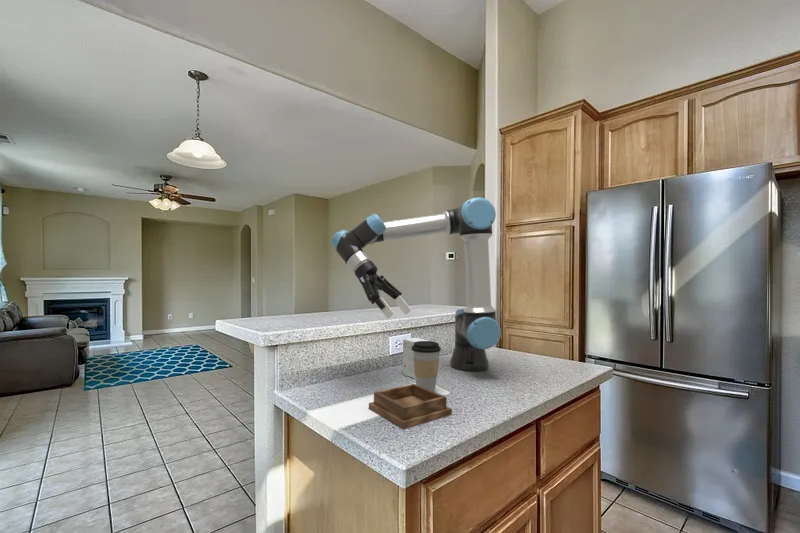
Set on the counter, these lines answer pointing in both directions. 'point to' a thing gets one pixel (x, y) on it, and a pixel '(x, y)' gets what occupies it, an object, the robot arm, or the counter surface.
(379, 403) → the wooden tray
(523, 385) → the counter surface
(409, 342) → the small box
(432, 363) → the coffee cup
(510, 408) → the counter surface
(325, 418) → the counter surface
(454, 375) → the counter surface
